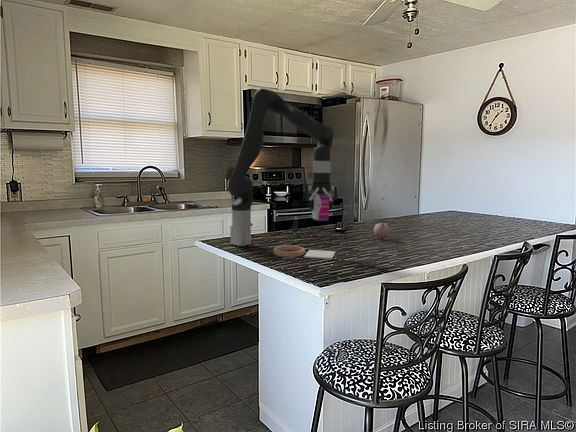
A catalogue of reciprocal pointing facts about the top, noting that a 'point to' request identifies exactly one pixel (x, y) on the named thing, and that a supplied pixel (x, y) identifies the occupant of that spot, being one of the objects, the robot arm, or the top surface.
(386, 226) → the decorative fruit
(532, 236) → the top surface
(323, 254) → the rubber mat
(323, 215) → the supplement box
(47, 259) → the top surface
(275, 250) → the tan faceted ring
